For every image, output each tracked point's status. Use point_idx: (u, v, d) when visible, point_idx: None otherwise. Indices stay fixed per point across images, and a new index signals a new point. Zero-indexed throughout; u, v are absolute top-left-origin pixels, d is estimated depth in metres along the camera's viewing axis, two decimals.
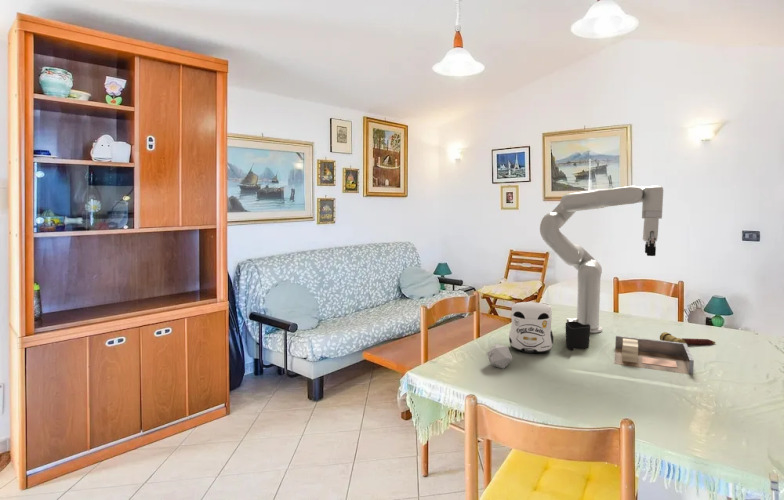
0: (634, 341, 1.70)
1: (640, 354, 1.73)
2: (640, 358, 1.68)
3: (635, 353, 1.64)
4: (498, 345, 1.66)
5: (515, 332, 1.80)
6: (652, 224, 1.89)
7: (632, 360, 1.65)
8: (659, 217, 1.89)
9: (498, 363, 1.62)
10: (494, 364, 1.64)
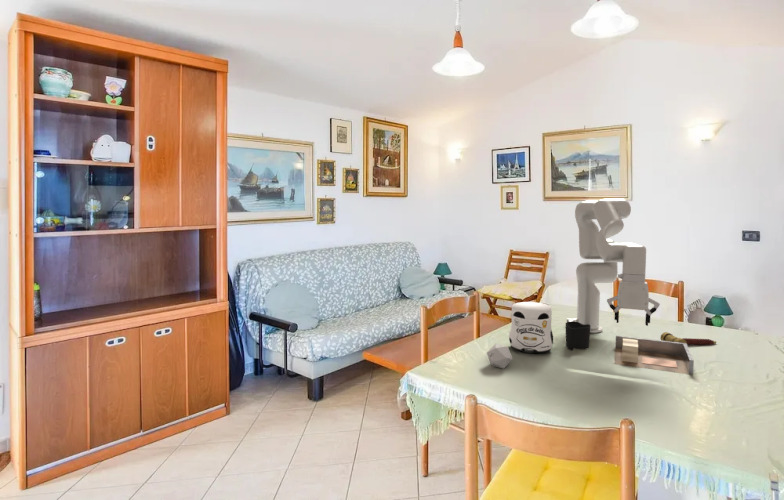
0: (634, 341, 1.70)
1: (640, 354, 1.73)
2: (640, 358, 1.68)
3: (635, 353, 1.64)
4: (498, 345, 1.66)
5: (515, 332, 1.80)
6: None
7: (632, 360, 1.65)
8: None
9: (498, 363, 1.62)
10: (494, 364, 1.64)
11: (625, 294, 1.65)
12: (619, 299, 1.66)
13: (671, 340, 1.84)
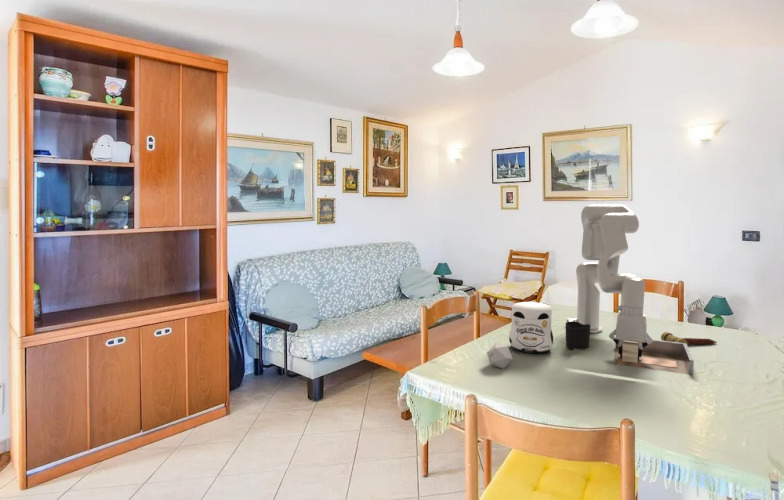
0: None
1: None
2: (640, 358, 1.68)
3: (635, 353, 1.64)
4: (498, 345, 1.66)
5: (515, 332, 1.80)
6: None
7: (632, 360, 1.65)
8: None
9: (498, 363, 1.62)
10: (494, 364, 1.64)
11: (623, 326, 1.67)
12: (617, 331, 1.68)
13: (672, 340, 1.84)
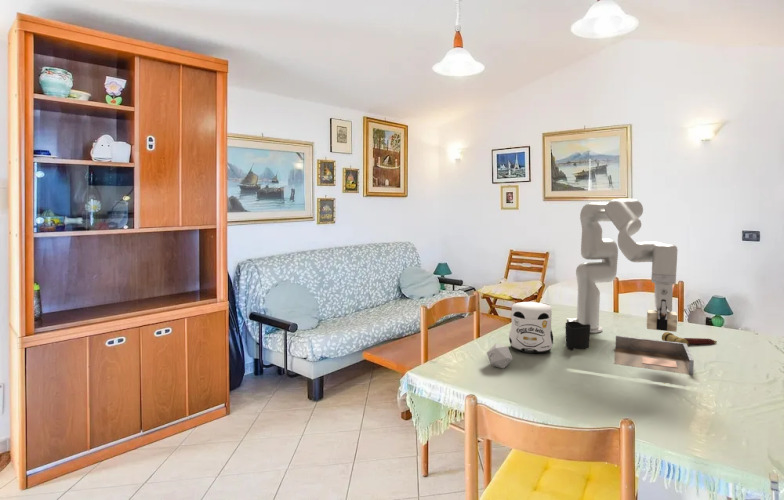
0: (655, 311, 1.64)
1: (640, 354, 1.73)
2: (640, 358, 1.68)
3: None
4: (498, 345, 1.66)
5: (515, 332, 1.80)
6: None
7: None
8: None
9: (498, 363, 1.62)
10: (494, 364, 1.64)
11: None
12: None
13: (673, 340, 1.84)
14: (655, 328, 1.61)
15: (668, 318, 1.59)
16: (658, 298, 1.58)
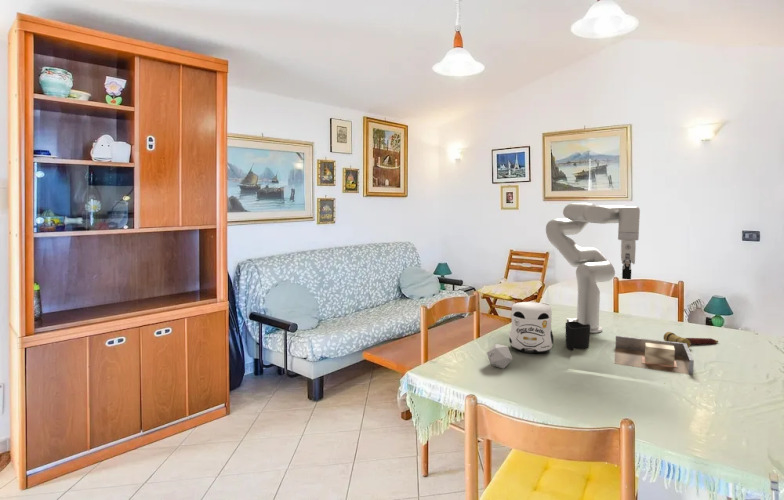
0: (653, 344, 1.66)
1: (640, 354, 1.73)
2: (640, 358, 1.68)
3: None
4: (498, 345, 1.66)
5: (515, 332, 1.80)
6: None
7: None
8: None
9: (498, 363, 1.62)
10: (494, 364, 1.64)
11: None
12: (634, 256, 1.80)
13: (675, 340, 1.84)
14: (653, 362, 1.63)
15: (665, 353, 1.61)
16: (623, 252, 1.82)
